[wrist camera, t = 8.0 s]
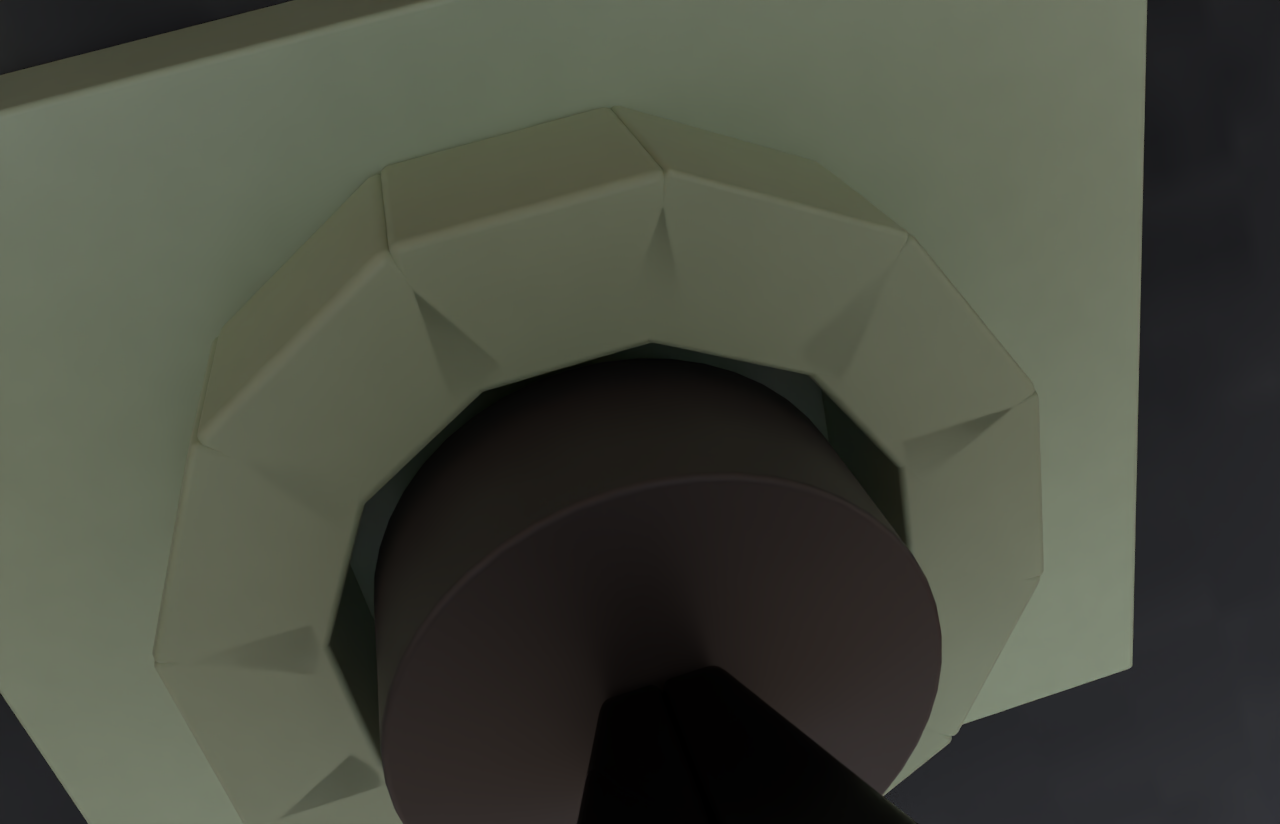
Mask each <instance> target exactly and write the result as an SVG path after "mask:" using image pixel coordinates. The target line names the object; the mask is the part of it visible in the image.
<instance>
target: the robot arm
mask: <svg viewBox="0 0 1280 824" xmlns="http://www.w3.org/2000/svg"><path fill="white" fill-rule="evenodd" d="M577 824H917V823H916V822H915V821H914V820H912V819H911V818H910V817H909V816H907V815H906V814H905V813H904V812H902V811H901V810H900V809H899V808H897V807H896V806H895V805H894V804H892V803H891V802H890V801H889V800H887V799H886V798H885V797H884V796H882V795H881V794H880V793H879V792H877V791H876V790H875V789H874V788H872V787H871V786H870V785H869V784H867V783H866V782H865V781H864V780H862V779H861V778H860V777H859V776H857V775H856V774H855V773H854V772H852V771H851V770H850V769H849V768H847V767H846V766H845V765H844V764H842V763H841V762H840V761H839V760H837V759H836V758H835V757H834V756H832V755H831V754H830V753H829V752H827V751H826V750H825V749H824V748H822V747H821V746H820V745H819V744H817V743H816V742H815V741H814V740H812V739H811V738H810V737H809V736H807V735H806V734H805V733H804V732H802V731H801V730H800V729H799V728H797V727H796V726H795V725H794V724H792V723H791V722H790V721H789V720H787V719H786V718H785V717H783V716H782V715H781V714H780V713H778V712H777V711H776V710H775V709H773V708H772V707H771V706H770V705H768V704H767V703H766V702H765V701H763V700H762V699H761V698H760V697H758V696H757V695H756V694H755V693H753V692H752V691H751V690H750V689H748V688H747V687H746V686H745V685H743V684H742V683H741V682H740V681H738V680H737V679H736V678H735V677H733V676H732V675H731V674H730V673H728V672H727V671H726V670H724V669H723V668H721V667H719V666H714V665H711V666H707V667H704V668H700V669H697V670H694V671H691V672H688V673H685V674H682V675H679V676H676V677H672V678H670V679H668V680H667V681H666V682H665V683H664V686H663V693H662V691H661V689H660V688H659V687H657V686H655V685H648V686H645V687H641V688H638V689H635V690H632V691H629V692H626V693H623V694H620V695H617V696H614V697H611V698H608V699H606V700H605V702H604V703H603V704H602V706H601V708H600V711H599V715H598V720H597V725H596V730H595V735H594V740H593V745H592V750H591V755H590V760H589V765H588V770H587V775H586V780H585V785H584V790H583V795H582V800H581V805H580V810H579V815H578V820H577Z"/></svg>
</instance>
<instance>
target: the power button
mask: <svg viewBox="0 0 1280 824" xmlns="http://www.w3.org/2000/svg"><path fill="white" fill-rule="evenodd" d="M374 615H375V638H376V661H377V683H378V706H379V729H380V752H381V760H382V766H383V772H384V779H385V784H386V786H387V789H388V792H389V795H390V798H391V801H392V803H393V806H394V809H395V811H396V813H397V814H398V816H399V818H400V820H401V821H402V823H403V824H577V820H578V815H579V810H580V805H581V800H582V795H583V790H584V785H585V780H586V775H587V770H588V765H589V760H590V755H591V750H592V745H593V740H594V735H595V730H596V725H597V720H598V715H599V711H600V708H601V706H602V704H603V703H604V702H605V700H606V699H608V698H611V697H614V696H617V695H620V694H623V693H626V692H629V691H632V690H635V689H638V688H641V687H645V686H648V685H655V686H657V687H659V688H660V689H661V691H662V693H663V686H664V683H665V682H666V681H667V680H668V679H670V678H672V677H676V676H679V675H682V674H685V673H688V672H691V671H694V670H697V669H700V668H704V667H707V666H711V665H714V666H719V667H721V668H723V669H724V670H726V671H727V672H728V673H730V674H731V675H732V676H733V677H735V678H736V679H737V680H738V681H740V682H741V683H742V684H743V685H745V686H746V687H747V688H748V689H750V690H751V691H752V692H753V693H755V694H756V695H757V696H758V697H760V698H761V699H762V700H763V701H765V702H766V703H767V704H768V705H770V706H771V707H772V708H773V709H775V710H776V711H777V712H778V713H780V714H781V715H782V716H783V717H785V718H786V719H787V720H789V721H790V722H791V723H792V724H794V725H795V726H796V727H797V728H799V729H800V730H801V731H802V732H804V733H805V734H806V735H807V736H809V737H810V738H811V739H812V740H814V741H815V742H816V743H817V744H819V745H820V746H821V747H822V748H824V749H825V750H826V751H827V752H829V753H830V754H831V755H832V756H834V757H835V758H836V759H837V760H839V761H840V762H841V763H842V764H844V765H845V766H846V767H847V768H849V769H850V770H851V771H852V772H854V773H855V774H856V775H857V776H859V777H860V778H861V779H862V780H864V781H865V782H866V783H867V784H869V785H870V786H871V787H872V788H874V789H875V790H876V791H877V792H879V793H880V794H881V795H883V794H884V793H885V791H886V790H887V789H888V788H889V786H890V785H891V784H892V782H893V781H894V780H895V778H896V777H897V776H898V774H899V773H900V772H901V771H902V769H903V767H904V766H905V764H906V762H907V761H908V759H909V758H910V756H911V754H912V753H913V751H914V749H915V748H916V746H917V744H918V742H919V740H920V738H921V735H922V733H923V731H924V729H925V727H926V724H927V722H928V720H929V718H930V714H931V711H932V708H933V704H934V701H935V698H936V694H937V691H938V685H939V678H940V672H941V665H942V635H941V627H940V622H939V616H938V610H937V605H936V602H935V599H934V596H933V594H932V591H931V588H930V585H929V583H928V580H927V578H926V576H925V574H924V573H923V571H922V569H921V567H920V566H919V564H918V562H917V561H916V559H915V557H914V556H913V554H912V553H911V551H910V550H909V549H908V547H907V546H906V545H905V543H904V542H903V541H902V539H901V538H900V537H899V535H898V534H897V533H896V531H895V530H894V529H893V527H892V526H891V525H890V523H889V522H888V521H887V519H886V518H885V517H884V515H883V514H882V513H881V511H880V510H879V509H878V507H877V506H876V505H875V503H874V502H873V501H872V499H871V498H870V497H869V495H868V494H867V493H866V491H865V490H864V489H863V487H862V486H861V485H860V483H859V482H858V481H857V479H856V478H855V477H854V475H853V474H852V473H851V471H850V470H849V469H848V467H847V466H846V465H845V463H844V462H843V461H842V459H841V458H840V457H839V455H838V454H837V453H836V451H835V450H834V449H833V447H832V446H831V445H830V443H829V442H828V441H827V439H826V438H825V437H824V435H823V434H822V433H821V432H820V431H819V430H818V428H817V427H816V426H815V425H814V424H813V422H812V421H811V420H810V419H809V418H808V417H807V416H806V415H805V414H804V413H803V412H801V411H800V410H799V409H798V408H797V407H796V406H794V405H793V404H792V403H791V402H790V401H789V400H787V399H786V398H784V397H783V396H781V395H779V394H778V393H776V392H775V391H773V390H771V389H770V388H768V387H767V386H765V385H763V384H761V383H759V382H757V381H754V380H752V379H750V378H748V377H745V376H743V375H741V374H738V373H736V372H733V371H730V370H726V369H722V368H719V367H715V366H711V365H708V364H704V363H697V362H690V361H683V360H676V359H656V358H634V359H625V360H616V361H606V362H600V363H595V364H591V365H587V366H582V367H578V368H574V369H569V370H566V371H563V372H560V373H557V374H555V375H552V376H549V377H546V378H543V379H541V380H538V381H535V382H533V383H531V384H529V385H527V386H525V387H523V388H521V389H519V390H517V391H515V392H513V393H511V394H508V395H506V396H504V397H502V398H501V399H499V400H498V401H496V402H495V403H493V404H492V405H490V406H489V407H487V408H486V409H484V410H482V411H481V412H479V413H478V414H476V415H475V416H473V417H472V418H471V419H470V420H468V421H467V422H466V423H465V424H464V425H462V426H461V427H460V428H459V429H458V430H456V431H455V432H454V433H453V434H452V435H450V436H449V437H448V438H447V439H446V440H445V441H444V442H443V443H442V444H441V445H440V446H439V448H438V449H437V450H436V451H435V452H434V453H433V454H432V455H431V456H430V457H429V458H428V459H427V460H426V462H425V463H424V464H423V465H422V466H421V468H420V469H419V470H418V472H417V473H416V475H415V476H414V477H413V479H412V480H411V482H410V483H409V485H408V486H407V487H406V489H405V490H404V492H403V494H402V496H401V497H400V499H399V501H398V503H397V505H396V507H395V509H394V511H393V513H392V515H391V517H390V519H389V521H388V524H387V527H386V530H385V533H384V536H383V539H382V542H381V545H380V548H379V553H378V559H377V564H376V570H375V575H374Z"/></svg>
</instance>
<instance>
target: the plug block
mask: <svg viewBox="0 0 1280 824" xmlns="http://www.w3.org/2000/svg"><path fill="white" fill-rule="evenodd" d="M1146 29H1147V0H293V1H289V2H285V3H281V4H277V5H273V6H270V7H266V8H262V9H258V10H254V11H250V12H246V13H242V14H238V15H234V16H230V17H226V18H223V19H219V20H215V21H211V22H207V23H203V24H199V25H195V26H191V27H187V28H183V29H179V30H176V31H172V32H168V33H164V34H160V35H156V36H152V37H148V38H144V39H140V40H136V41H132V42H129V43H125V44H121V45H117V46H113V47H109V48H105V49H101V50H97V51H93V52H89V53H85V54H81V55H78V56H74V57H70V58H66V59H62V60H58V61H54V62H50V63H46V64H42V65H38V66H34V67H31V68H27V69H23V70H19V71H15V72H11V73H7V74H3V75H0V693H1V694H2V696H3V697H4V699H5V700H6V702H7V703H8V705H9V706H10V708H11V709H12V711H13V712H14V714H15V715H16V717H17V718H18V720H19V721H20V723H21V724H22V726H23V727H24V729H25V730H26V732H27V733H28V734H29V736H30V737H31V739H32V740H33V742H34V743H35V745H36V746H37V748H38V749H39V751H40V752H41V754H42V755H43V757H44V758H45V760H46V761H47V763H48V764H49V766H50V767H51V769H52V770H53V772H54V773H55V775H56V776H57V778H58V779H59V781H60V782H61V784H62V785H63V787H64V788H65V790H66V791H67V793H68V794H69V796H70V797H71V799H72V800H73V802H74V803H75V805H76V806H77V807H78V809H79V810H80V812H81V813H82V815H83V816H84V818H85V819H86V821H87V822H88V824H403V823H402V821H401V820H400V818H399V816H398V814H397V813H396V811H395V809H394V806H393V803H392V801H391V798H390V795H389V792H388V789H387V786H386V784H385V779H384V772H383V766H382V760H381V752H380V729H379V706H378V683H377V661H376V638H375V615H374V575H375V570H376V564H377V559H378V553H379V548H380V545H381V542H382V539H383V536H384V533H385V530H386V527H387V524H388V521H389V519H390V517H391V515H392V513H393V511H394V509H395V507H396V505H397V503H398V501H399V499H400V497H401V496H402V494H403V492H404V490H405V489H406V487H407V486H408V485H409V483H410V482H411V480H412V479H413V477H414V476H415V475H416V473H417V472H418V470H419V469H420V468H421V466H422V465H423V464H424V463H425V462H426V460H427V459H428V458H429V457H430V456H431V455H432V454H433V453H434V452H435V451H436V450H437V449H438V448H439V446H440V445H441V444H442V443H443V442H444V441H445V440H446V439H447V438H448V437H449V436H450V435H452V434H453V433H454V432H455V431H456V430H458V429H459V428H460V427H461V426H462V425H464V424H465V423H466V422H467V421H468V420H470V419H471V418H472V417H473V416H475V415H476V414H478V413H479V412H481V411H482V410H484V409H486V408H487V407H489V406H490V405H492V404H493V403H495V402H496V401H498V400H499V399H501V398H502V397H504V396H506V395H508V394H511V393H513V392H515V391H517V390H519V389H521V388H523V387H525V386H527V385H529V384H531V383H533V382H535V381H538V380H541V379H543V378H546V377H549V376H552V375H555V374H557V373H560V372H563V371H566V370H569V369H574V368H578V367H582V366H587V365H591V364H595V363H600V362H606V361H616V360H625V359H634V358H656V359H676V360H683V361H690V362H697V363H704V364H708V365H711V366H715V367H719V368H722V369H726V370H730V371H733V372H736V373H738V374H741V375H743V376H745V377H748V378H750V379H752V380H754V381H757V382H759V383H761V384H763V385H765V386H767V387H768V388H770V389H771V390H773V391H775V392H776V393H778V394H779V395H781V396H783V397H784V398H786V399H787V400H789V401H790V402H791V403H792V404H793V405H794V406H796V407H797V408H798V409H799V410H800V411H801V412H803V413H804V414H805V415H806V416H807V417H808V418H809V419H810V420H811V421H812V422H813V424H814V425H815V426H816V427H817V428H818V430H819V431H820V432H821V433H822V434H823V435H824V437H825V438H826V439H827V441H828V442H829V443H830V445H831V446H832V447H833V449H834V450H835V451H836V453H837V454H838V455H839V457H840V458H841V459H842V461H843V462H844V463H845V465H846V466H847V467H848V469H849V470H850V471H851V473H852V474H853V475H854V477H855V478H856V479H857V481H858V482H859V483H860V485H861V486H862V487H863V489H864V490H865V491H866V493H867V494H868V495H869V497H870V498H871V499H872V501H873V502H874V503H875V505H876V506H877V507H878V509H879V510H880V511H881V513H882V514H883V515H884V517H885V518H886V519H887V521H888V522H889V523H890V525H891V526H892V527H893V529H894V530H895V531H896V533H897V534H898V535H899V537H900V538H901V539H902V541H903V542H904V543H905V545H906V546H907V547H908V549H909V550H910V551H911V553H912V554H913V556H914V557H915V559H916V561H917V562H918V564H919V566H920V567H921V569H922V571H923V573H924V574H925V576H926V578H927V580H928V583H929V585H930V588H931V591H932V594H933V596H934V599H935V602H936V605H937V610H938V616H939V622H940V627H941V635H942V665H941V672H940V678H939V685H938V691H937V694H936V698H935V701H934V704H933V708H932V711H931V714H930V718H929V720H928V722H927V724H926V727H925V729H924V731H923V733H922V735H921V738H920V740H919V742H918V744H917V746H916V748H915V749H914V751H913V753H912V754H911V756H910V758H909V759H908V761H907V762H906V764H905V766H904V767H903V769H902V771H901V772H900V773H899V774H898V776H897V777H896V778H895V780H894V781H893V782H892V784H891V785H890V786H889V788H888V789H887V790H886V791H885V793H884V794H883V795H882V796H884V795H885V794H886V793H888V792H889V791H890V790H891V789H893V788H894V787H895V786H896V785H898V784H899V783H900V782H901V781H903V780H904V779H905V778H906V777H908V776H909V775H910V774H911V773H913V772H914V771H915V770H916V769H918V768H919V767H920V766H921V765H923V764H924V763H925V762H926V761H928V760H929V759H930V758H931V757H933V756H934V755H935V754H936V753H938V752H939V751H940V750H941V749H943V748H944V747H945V746H946V745H948V744H949V743H950V741H951V740H952V738H951V736H954V735H955V734H957V733H958V731H959V729H960V727H961V726H962V724H965V723H968V722H971V721H974V720H977V719H980V718H983V717H986V716H989V715H992V714H995V713H998V712H1001V711H1004V710H1007V709H1010V708H1013V707H1016V706H1019V705H1022V704H1025V703H1028V702H1031V701H1034V700H1037V699H1040V698H1043V697H1046V696H1049V695H1052V694H1055V693H1058V692H1061V691H1064V690H1067V689H1070V688H1073V687H1076V686H1079V685H1082V684H1085V683H1088V682H1091V681H1094V680H1097V679H1100V678H1103V677H1106V676H1109V675H1112V674H1115V673H1118V672H1121V671H1124V670H1127V669H1129V668H1131V667H1132V659H1133V614H1134V569H1135V524H1136V479H1137V434H1138V389H1139V344H1140V299H1141V254H1142V209H1143V164H1144V119H1145V74H1146Z"/></svg>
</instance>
